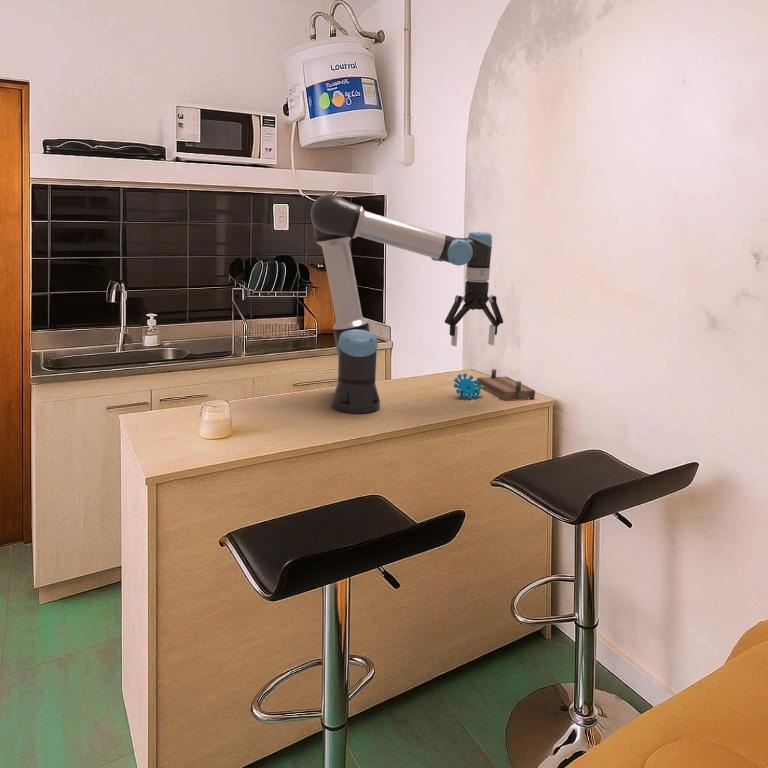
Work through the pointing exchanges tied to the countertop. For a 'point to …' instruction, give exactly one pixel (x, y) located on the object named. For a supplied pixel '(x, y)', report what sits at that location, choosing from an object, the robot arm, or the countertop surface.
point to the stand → (505, 387)
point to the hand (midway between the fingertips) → (472, 345)
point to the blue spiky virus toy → (467, 386)
